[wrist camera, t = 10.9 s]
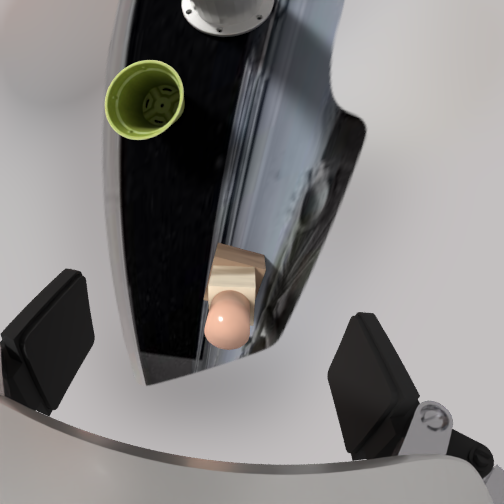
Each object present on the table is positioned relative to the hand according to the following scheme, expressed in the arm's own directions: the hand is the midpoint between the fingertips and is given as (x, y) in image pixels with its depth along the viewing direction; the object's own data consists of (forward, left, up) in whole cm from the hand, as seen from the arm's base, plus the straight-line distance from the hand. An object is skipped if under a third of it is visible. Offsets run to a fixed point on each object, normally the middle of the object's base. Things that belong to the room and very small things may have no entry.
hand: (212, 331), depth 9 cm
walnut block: (+14, +1, -32) cm, 35 cm away
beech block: (+14, +1, -27) cm, 31 cm away
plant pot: (-9, -12, -32) cm, 36 cm away
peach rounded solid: (+14, +1, -22) cm, 26 cm away
